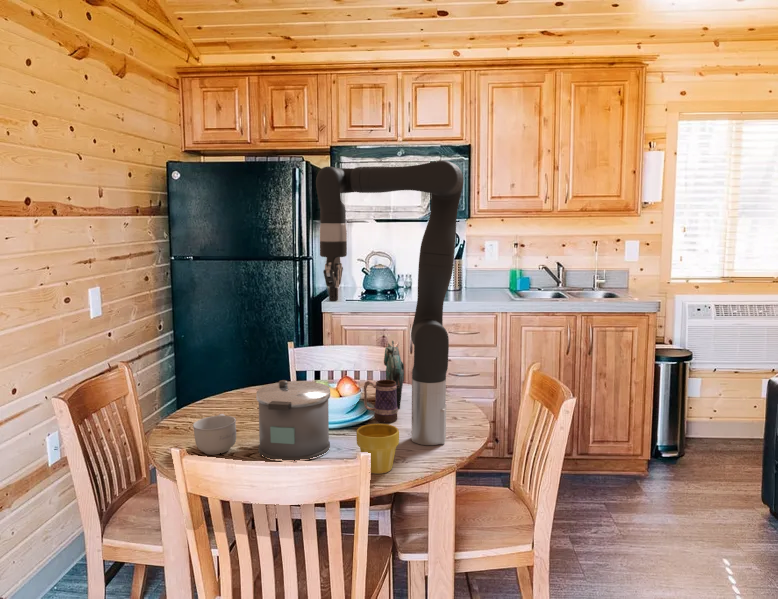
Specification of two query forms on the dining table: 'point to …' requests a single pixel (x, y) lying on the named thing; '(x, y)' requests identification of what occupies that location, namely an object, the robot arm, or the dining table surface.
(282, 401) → the cooker lid
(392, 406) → the mug
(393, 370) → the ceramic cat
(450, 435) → the dining table surface
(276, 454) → the cooker
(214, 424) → the teacup
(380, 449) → the plant pot
